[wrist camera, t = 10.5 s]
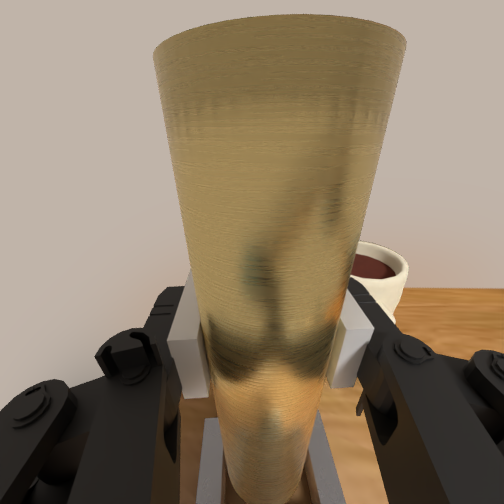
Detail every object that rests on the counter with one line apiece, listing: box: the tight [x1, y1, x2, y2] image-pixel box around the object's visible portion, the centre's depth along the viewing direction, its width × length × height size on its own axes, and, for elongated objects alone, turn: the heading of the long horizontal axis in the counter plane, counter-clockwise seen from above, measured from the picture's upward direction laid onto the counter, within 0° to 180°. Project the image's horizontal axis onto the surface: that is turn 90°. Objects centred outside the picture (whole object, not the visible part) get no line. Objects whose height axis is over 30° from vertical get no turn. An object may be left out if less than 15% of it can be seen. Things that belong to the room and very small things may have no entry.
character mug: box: [350, 241, 409, 377], centre depth 22 cm, size 11×7×13 cm, turn 3°
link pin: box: [153, 14, 406, 504], centre depth 8 cm, size 4×4×16 cm
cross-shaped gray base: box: [196, 410, 346, 504], centre depth 15 cm, size 9×23×3 cm, turn 3°
